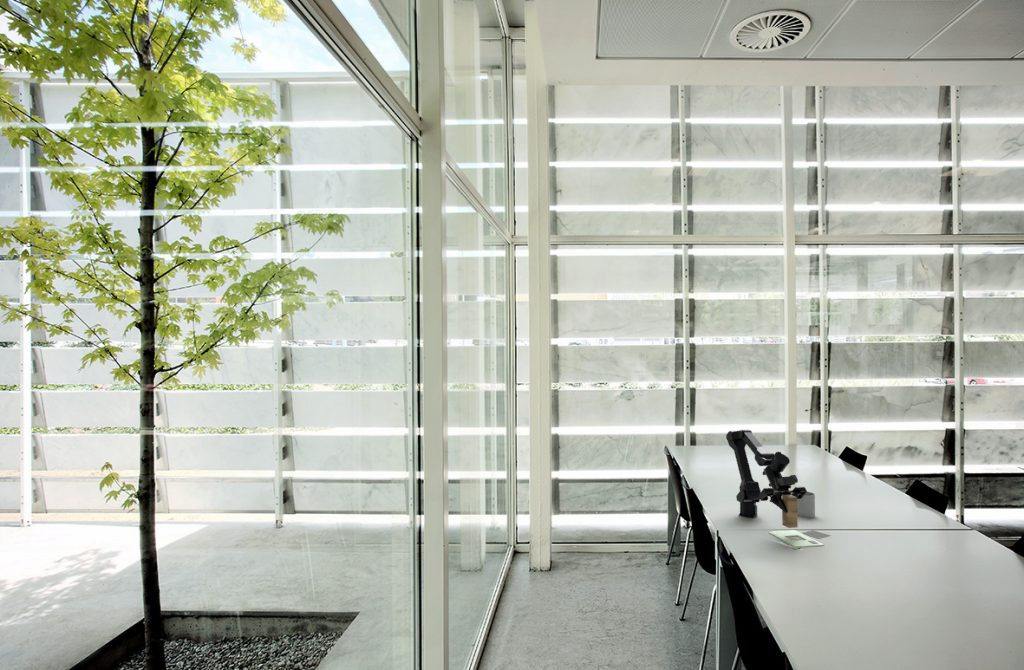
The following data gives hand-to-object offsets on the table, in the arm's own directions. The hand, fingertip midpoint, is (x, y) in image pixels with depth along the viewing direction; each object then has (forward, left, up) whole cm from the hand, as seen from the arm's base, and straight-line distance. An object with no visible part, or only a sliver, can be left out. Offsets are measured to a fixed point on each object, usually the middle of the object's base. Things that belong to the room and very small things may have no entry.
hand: (791, 512), depth 244 cm
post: (-1, +1, -6) cm, 6 cm away
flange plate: (+2, -1, -11) cm, 11 cm away
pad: (+7, +10, -11) cm, 16 cm away
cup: (-4, +38, -11) cm, 39 cm away
